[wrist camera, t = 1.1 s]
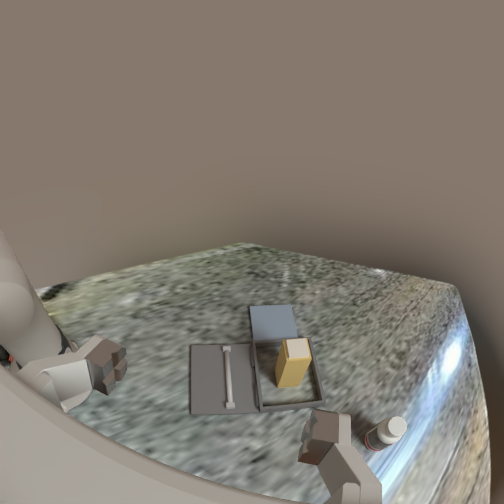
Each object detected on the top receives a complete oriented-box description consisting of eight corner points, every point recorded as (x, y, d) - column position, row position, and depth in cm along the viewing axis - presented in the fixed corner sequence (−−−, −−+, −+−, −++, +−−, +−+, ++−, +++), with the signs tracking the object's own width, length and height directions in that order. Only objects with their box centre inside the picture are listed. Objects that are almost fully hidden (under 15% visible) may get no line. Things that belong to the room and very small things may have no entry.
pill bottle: (382, 455, 47) (405, 443, 40) (359, 446, 49) (380, 433, 42) (390, 433, 50) (413, 417, 44) (369, 424, 52) (389, 408, 46)
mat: (253, 343, 66) (253, 341, 66) (249, 308, 74) (249, 306, 73) (297, 340, 68) (298, 338, 67) (290, 306, 75) (290, 304, 74)
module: (277, 388, 59) (287, 359, 50) (274, 369, 62) (283, 337, 54) (298, 385, 59) (312, 357, 51) (295, 367, 62) (307, 336, 54)
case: (191, 415, 53) (190, 412, 51) (191, 346, 64) (190, 342, 63) (323, 405, 56) (325, 402, 54) (308, 341, 67) (310, 336, 66)
